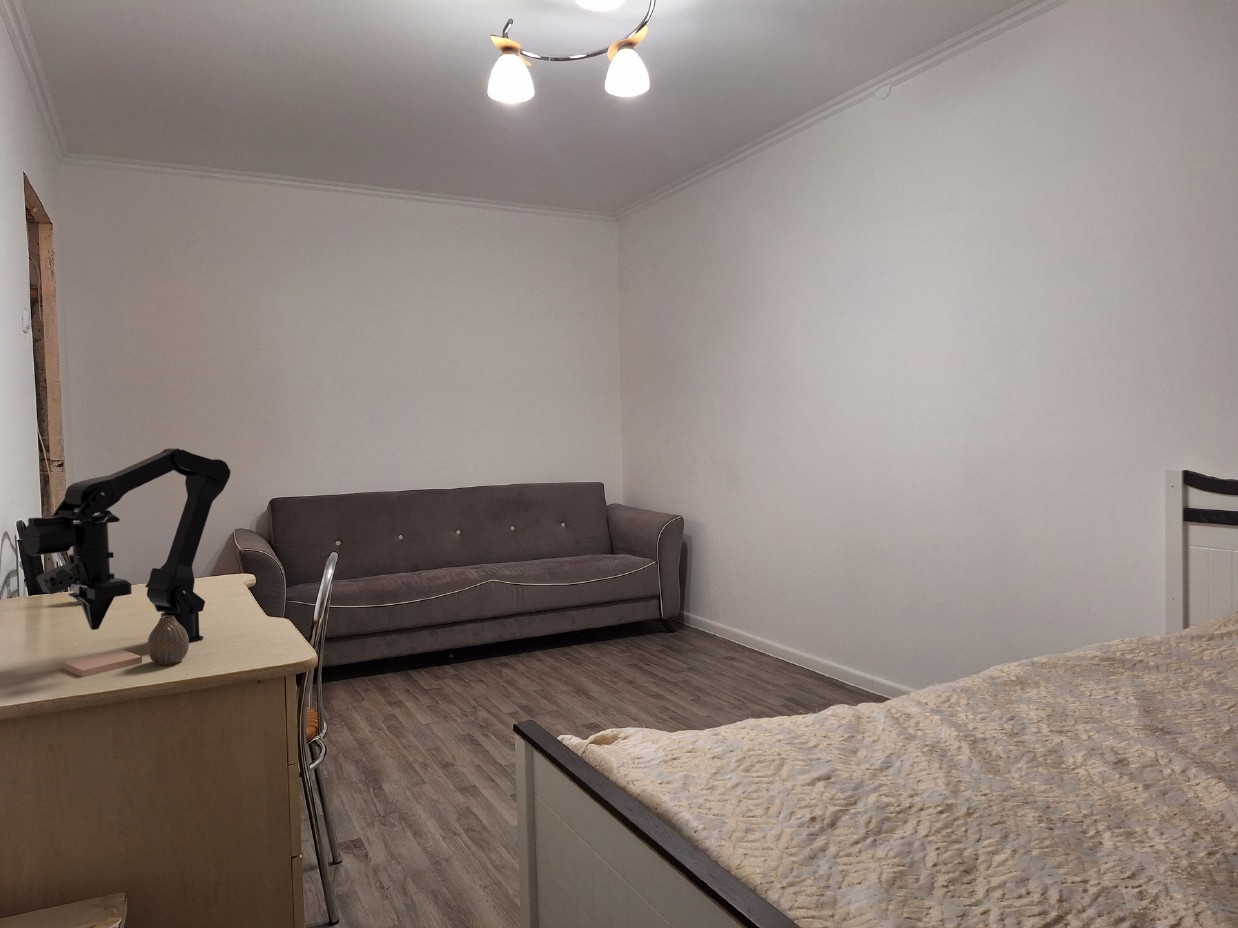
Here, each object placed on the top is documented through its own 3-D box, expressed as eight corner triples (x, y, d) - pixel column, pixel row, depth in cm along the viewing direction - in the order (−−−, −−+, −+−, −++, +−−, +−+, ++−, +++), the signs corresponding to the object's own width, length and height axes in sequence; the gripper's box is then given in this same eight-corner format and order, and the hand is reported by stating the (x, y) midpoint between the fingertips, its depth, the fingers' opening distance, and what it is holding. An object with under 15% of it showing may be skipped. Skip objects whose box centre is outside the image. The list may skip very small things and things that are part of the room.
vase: (196, 656, 155) (194, 612, 155) (178, 667, 148) (176, 621, 148) (160, 657, 155) (158, 613, 154) (140, 668, 148) (138, 621, 148)
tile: (120, 649, 157) (141, 656, 151) (120, 656, 157) (142, 664, 152) (62, 661, 148) (82, 670, 143) (62, 669, 149) (83, 678, 143)
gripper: (21, 549, 149) (25, 631, 150) (62, 558, 139) (66, 646, 139) (88, 542, 159) (91, 619, 159) (131, 549, 148) (134, 632, 149)
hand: (94, 629), depth 151 cm, fingers closed
